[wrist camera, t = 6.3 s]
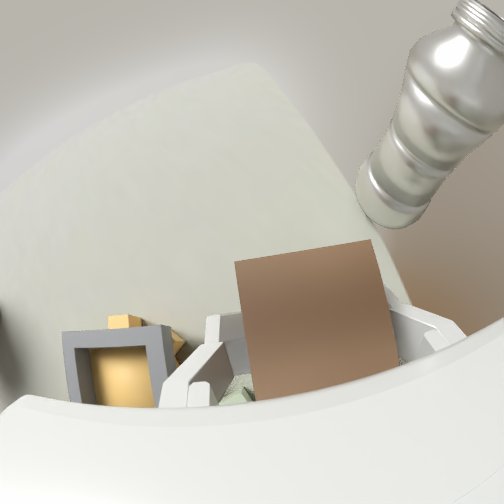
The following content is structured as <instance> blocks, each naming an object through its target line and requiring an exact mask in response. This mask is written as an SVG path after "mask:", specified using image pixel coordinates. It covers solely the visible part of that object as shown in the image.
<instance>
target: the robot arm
mask: <svg viewBox="0 0 504 504" xmlns="http://www.w3.org/2000/svg"><path fill="white" fill-rule="evenodd" d="M383 286H384V290H385V294H386V298H387V302H388V307H389V311H390V316H391V320H392V325H393V330H394V335H395V341H396V346H397V352H398V356H399V357H400V358H402V359H403V360H405V361H407V362H408V363H406V364H403V365H400V366H398V367H395V368H392V369H389V370H386V371H383V372H380V373H377V374H374V375H371V376H367V377H364V378H361V379H357V380H354V381H350V382H347V383H343V384H339V385H335V386H331V387H327V388H323V389H319V390H314V391H310V392H305V393H300V394H295V395H290V396H284V397H279V398H273V399H267V400H260V401H253V402H245V403H237V404H227V405H219V404H218V402H219V401H220V399H221V397H222V396H223V394H224V393H225V391H226V389H227V388H228V386H229V385H230V383H231V381H232V380H233V378H234V376H236V375H242V374H249V373H251V369H250V363H249V356H248V350H247V344H246V337H245V331H244V324H243V318H242V312H234V313H226V314H221V315H220V314H218V315H211V316H208V317H207V321H206V332H205V343H204V344H201V345H200V346H199V347H198V348H197V349H196V350H195V351H194V352H193V353H192V354H191V355H190V356H189V357H188V358H187V359H186V360H185V361H184V362H183V363H182V364H181V365H180V366H179V367H178V368H177V369H176V370H175V371H174V372H173V373H172V375H171V376H170V377H169V378H168V379H167V380H166V381H165V382H164V383H163V386H162V391H161V396H160V402H159V407H158V408H138V407H117V406H104V405H93V404H84V403H76V402H69V401H62V400H56V399H50V398H45V397H40V396H36V395H24V396H22V397H20V398H19V399H17V400H16V401H15V402H14V403H12V404H11V405H10V406H8V407H7V408H6V409H5V410H4V411H3V412H2V413H1V415H0V504H504V317H503V318H502V319H499V320H498V321H496V322H494V323H492V324H491V325H489V326H487V327H485V328H484V329H482V330H480V331H478V332H476V333H474V334H472V335H470V336H468V337H466V335H465V334H464V333H463V332H462V331H461V330H460V329H459V327H458V326H457V325H456V324H455V323H454V322H453V321H451V320H449V319H446V318H443V317H440V316H438V315H435V314H433V313H430V312H427V311H424V310H422V309H419V308H416V307H414V306H411V305H408V304H402V303H401V302H400V301H399V299H398V298H397V297H396V296H395V295H394V294H393V293H392V291H391V290H390V289H389V288H388V287H387V286H386V285H385V284H383Z"/></svg>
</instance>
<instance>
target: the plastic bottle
mask: <svg viewBox="0 0 504 504" xmlns="http://www.w3.org/2000/svg"><path fill="white" fill-rule="evenodd" d="M451 16H452V18H454V19H455V22H454V24H453V25H452V26H451V27H447V28H444V29H441V30H438V31H434V32H432V33H430V34H428V35H426V36H424V37H422V38H420V39H419V40H418V41H417V42H416V43H415V45H414V46H413V47H412V48H411V49H410V52H409V56H408V59H407V64H406V69H405V74H404V79H403V84H402V89H401V93H400V98H399V100H398V103H397V106H396V109H395V111H394V114H393V118H392V119H391V122H390V124H389V127H388V129H387V131H386V133H385V134H384V136H383V137H382V139H381V140H380V142H379V144H378V145H377V147H376V148H375V150H374V151H373V152H372V153H371V154H370V155H369V156H368V157H367V158H366V160H365V161H364V163H363V164H362V165H361V167H360V168H359V171H358V174H357V180H356V186H355V191H356V196H357V200H358V202H359V204H360V206H361V208H362V209H363V211H364V212H365V214H366V215H367V216H368V217H369V218H370V219H371V220H373V221H374V222H375V223H378V224H379V225H381V226H384V227H387V228H391V229H401V228H404V227H407V226H408V225H410V224H412V223H414V222H416V221H417V220H418V219H419V218H420V217H421V215H422V214H423V213H424V211H425V210H426V208H427V207H428V205H429V203H430V201H431V198H432V197H433V195H434V194H435V193H436V191H437V190H438V189H439V187H440V185H441V184H442V183H443V182H444V180H445V179H446V177H447V176H448V175H449V174H450V173H451V172H452V171H453V170H454V168H456V167H457V166H458V165H459V164H460V163H461V162H462V161H463V160H464V159H465V158H466V157H467V156H468V155H469V154H470V153H472V152H473V151H474V150H475V149H476V148H478V147H479V146H480V145H481V144H482V143H484V142H485V141H486V140H487V139H488V138H489V137H491V136H492V135H493V134H494V133H495V132H497V131H498V129H499V128H500V127H501V126H502V125H503V124H504V19H503V18H502V17H500V16H499V15H498V14H496V13H495V12H494V11H492V10H491V9H489V8H488V7H486V6H485V5H484V4H482V3H480V2H479V1H477V0H459V1H458V4H457V7H456V9H453V11H452V14H451Z"/></svg>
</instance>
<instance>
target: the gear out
mask: <svg viewBox="0 0 504 504" xmlns="http://www.w3.org/2000/svg"><path fill="white" fill-rule="evenodd" d="M108 325H109V329H105V330H86V331H67V332H62V344H63V355H64V364H65V372H66V380H67V386H68V392H69V398H70V402H76V403H84V404H93V405H104V406H117V407H138V408H158V407H159V402H160V396H161V391H162V386H163V383H164V382H165V381H166V380H167V379H168V378H169V377H170V376H171V375H172V373H173V372H174V371H175V370H176V369H177V368H178V367H179V366H180V364H179V362H178V361H177V359H176V358H175V355H176V353H177V352H178V351H179V349H180V348H181V347H182V345H183V344H184V343H185V341H184V340H183V339H182V338H181V337H179V336H178V335H177V334H176V333H175V332H173V331H172V330H171V327H169V326H165V325H152V326H142V322H141V318H140V317H136V316H132V315H128V314H127V315H117V316H108Z"/></svg>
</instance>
